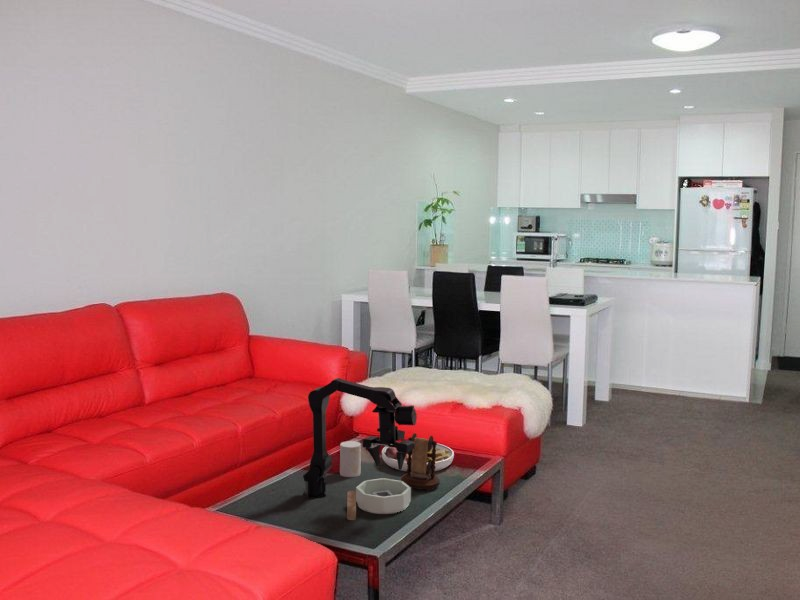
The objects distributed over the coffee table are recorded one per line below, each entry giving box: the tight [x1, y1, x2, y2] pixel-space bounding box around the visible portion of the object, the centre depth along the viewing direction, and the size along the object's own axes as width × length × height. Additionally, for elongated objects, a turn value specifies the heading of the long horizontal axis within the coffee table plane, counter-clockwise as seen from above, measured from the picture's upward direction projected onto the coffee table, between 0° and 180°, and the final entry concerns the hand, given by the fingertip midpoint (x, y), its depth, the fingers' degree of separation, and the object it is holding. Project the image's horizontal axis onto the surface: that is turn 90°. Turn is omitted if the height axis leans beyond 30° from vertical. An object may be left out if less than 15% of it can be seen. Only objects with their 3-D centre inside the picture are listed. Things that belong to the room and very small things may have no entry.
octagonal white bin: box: [355, 477, 412, 515], centre depth 268 cm, size 18×18×6 cm
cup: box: [339, 440, 362, 478], centre depth 298 cm, size 8×8×12 cm
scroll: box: [400, 432, 441, 492], centre depth 286 cm, size 15×15×20 cm
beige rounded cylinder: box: [346, 490, 357, 521], centre depth 254 cm, size 3×3×9 cm
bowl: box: [381, 443, 455, 473], centre depth 314 cm, size 30×30×8 cm
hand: (389, 467), depth 266 cm, fingers open, 9 cm apart
